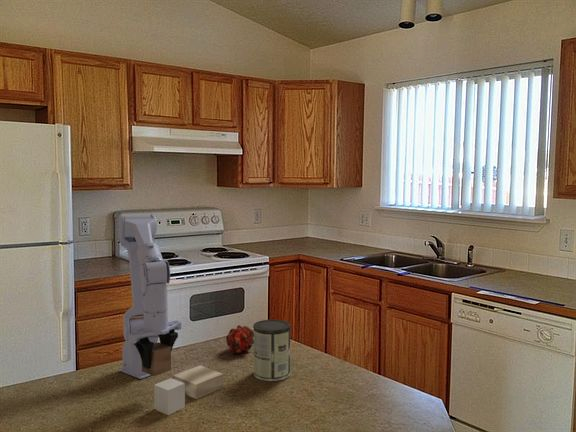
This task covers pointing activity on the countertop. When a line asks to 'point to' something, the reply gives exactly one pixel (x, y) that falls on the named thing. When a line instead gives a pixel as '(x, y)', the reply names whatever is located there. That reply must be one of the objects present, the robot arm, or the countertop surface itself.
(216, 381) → the birch base block
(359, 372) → the countertop surface
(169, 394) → the off-white block
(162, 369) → the walnut block
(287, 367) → the coffee can
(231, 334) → the dragon fruit
